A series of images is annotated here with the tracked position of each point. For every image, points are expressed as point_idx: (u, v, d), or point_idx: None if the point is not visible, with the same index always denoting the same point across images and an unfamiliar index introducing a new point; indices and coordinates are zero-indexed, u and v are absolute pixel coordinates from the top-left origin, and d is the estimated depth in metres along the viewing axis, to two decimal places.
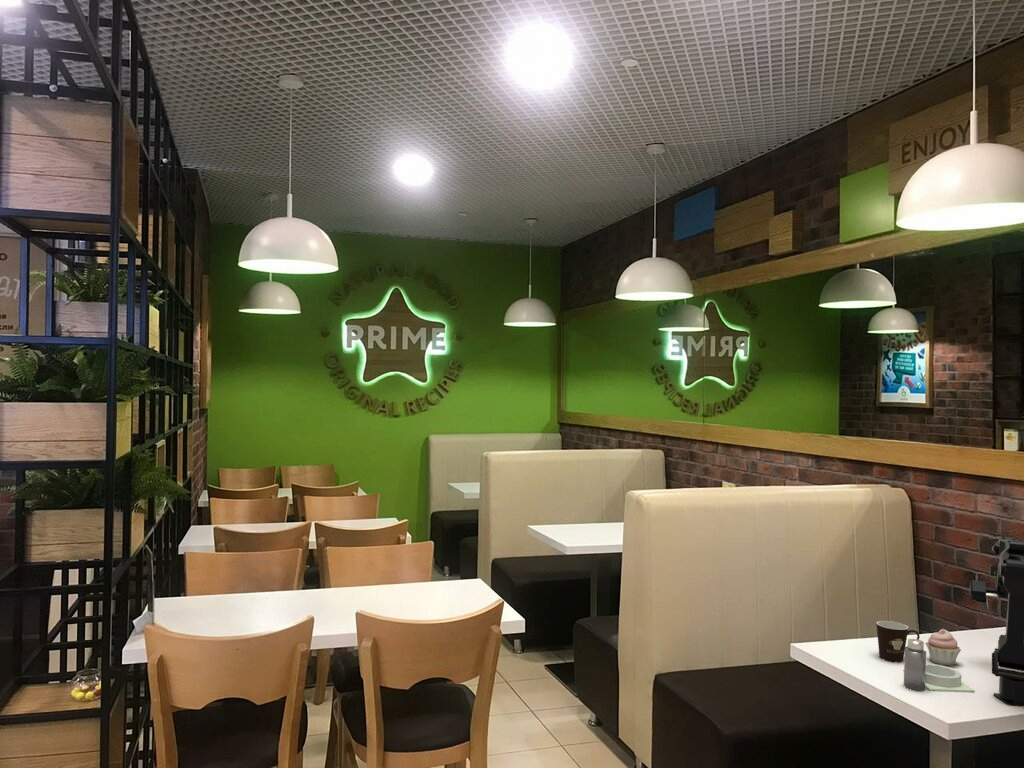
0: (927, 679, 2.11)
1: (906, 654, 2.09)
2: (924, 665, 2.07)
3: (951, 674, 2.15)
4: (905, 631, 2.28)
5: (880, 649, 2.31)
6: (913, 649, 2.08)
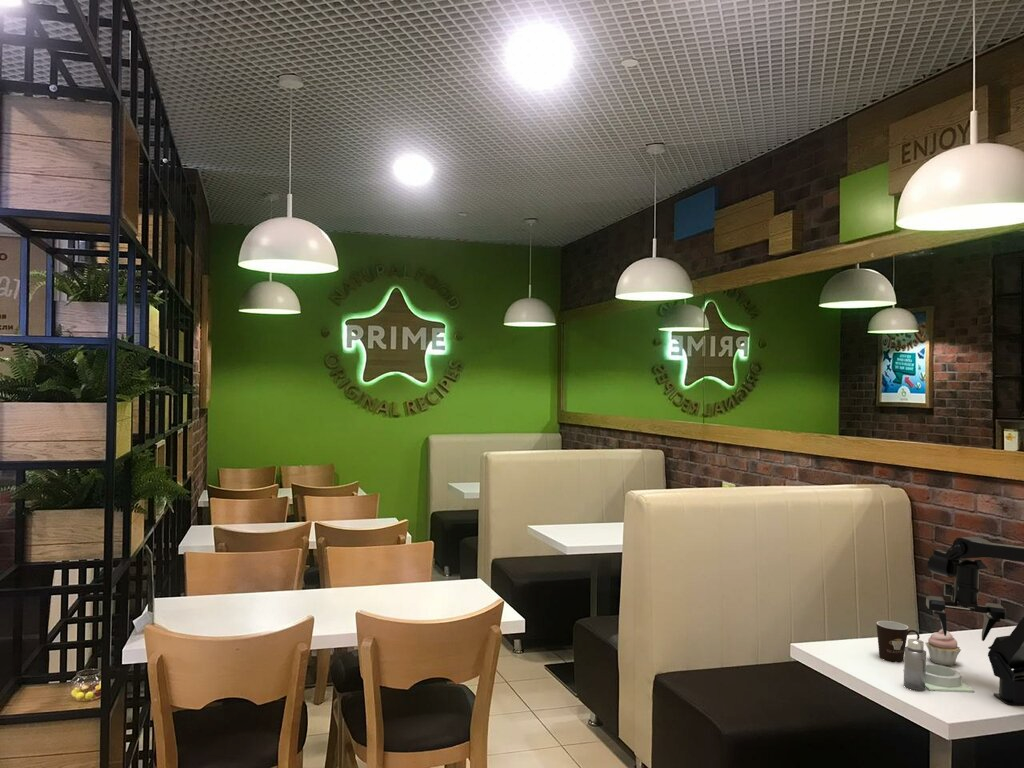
0: (927, 679, 2.11)
1: (906, 654, 2.09)
2: (924, 665, 2.07)
3: (951, 674, 2.15)
4: (905, 631, 2.28)
5: (880, 649, 2.31)
6: (913, 649, 2.08)
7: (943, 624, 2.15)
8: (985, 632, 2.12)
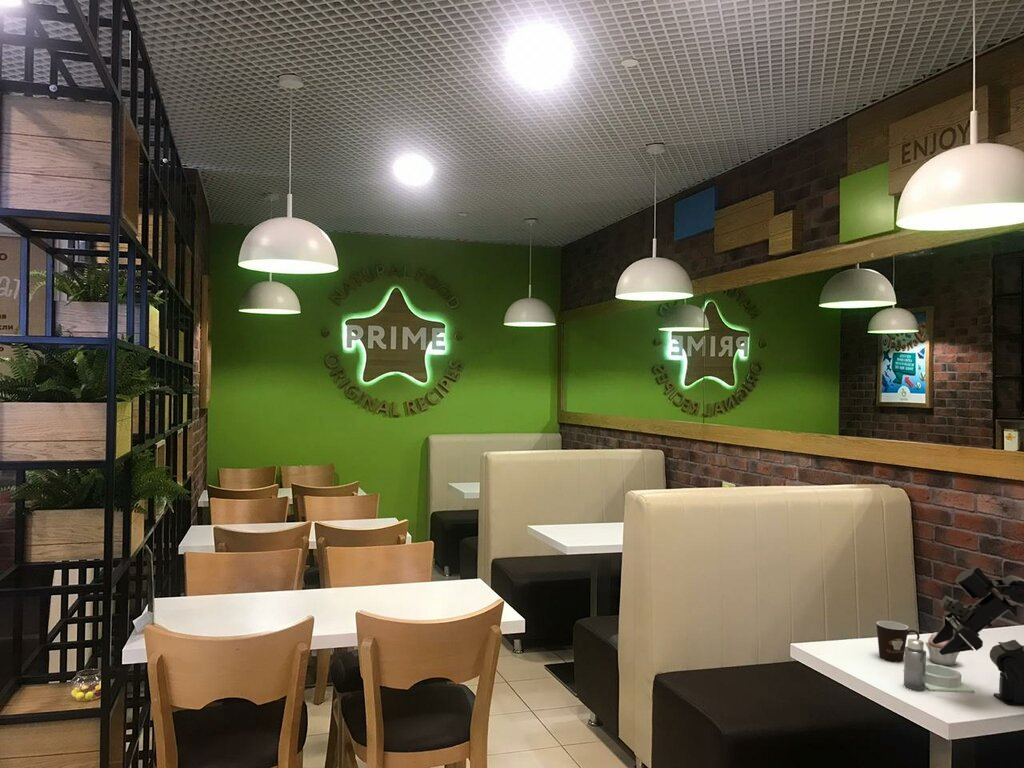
0: (927, 679, 2.11)
1: (906, 654, 2.09)
2: (924, 665, 2.07)
3: (951, 674, 2.15)
4: (905, 631, 2.28)
5: (880, 649, 2.31)
6: (913, 649, 2.08)
7: None
8: (945, 640, 2.11)
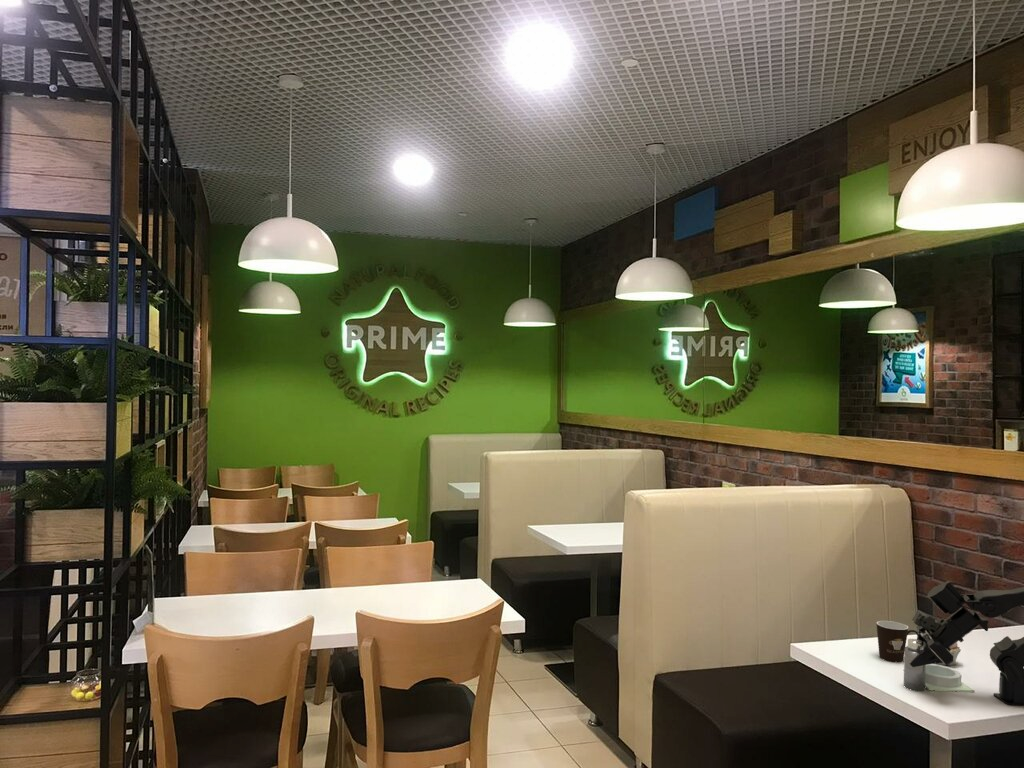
0: (927, 679, 2.11)
1: (906, 654, 2.09)
2: (924, 665, 2.07)
3: (951, 674, 2.15)
4: (905, 631, 2.28)
5: (880, 649, 2.31)
6: (913, 649, 2.08)
7: None
8: None
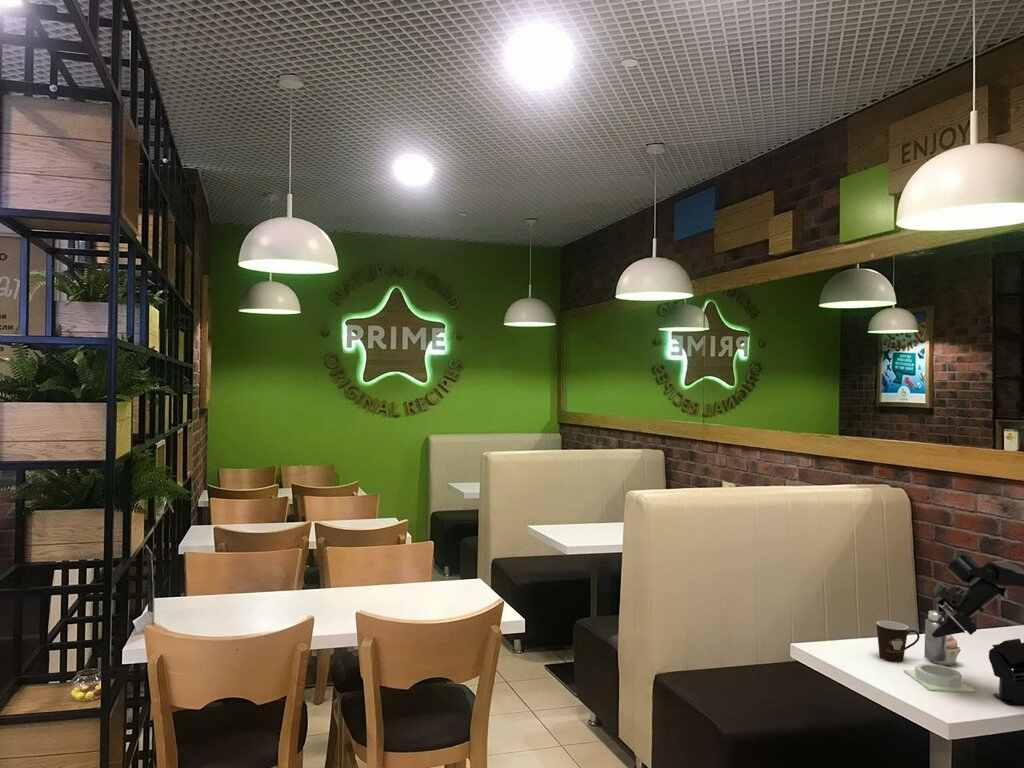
0: (927, 679, 2.11)
1: (927, 625, 2.12)
2: None
3: (951, 674, 2.15)
4: (905, 631, 2.28)
5: (880, 649, 2.31)
6: (934, 620, 2.11)
7: None
8: None
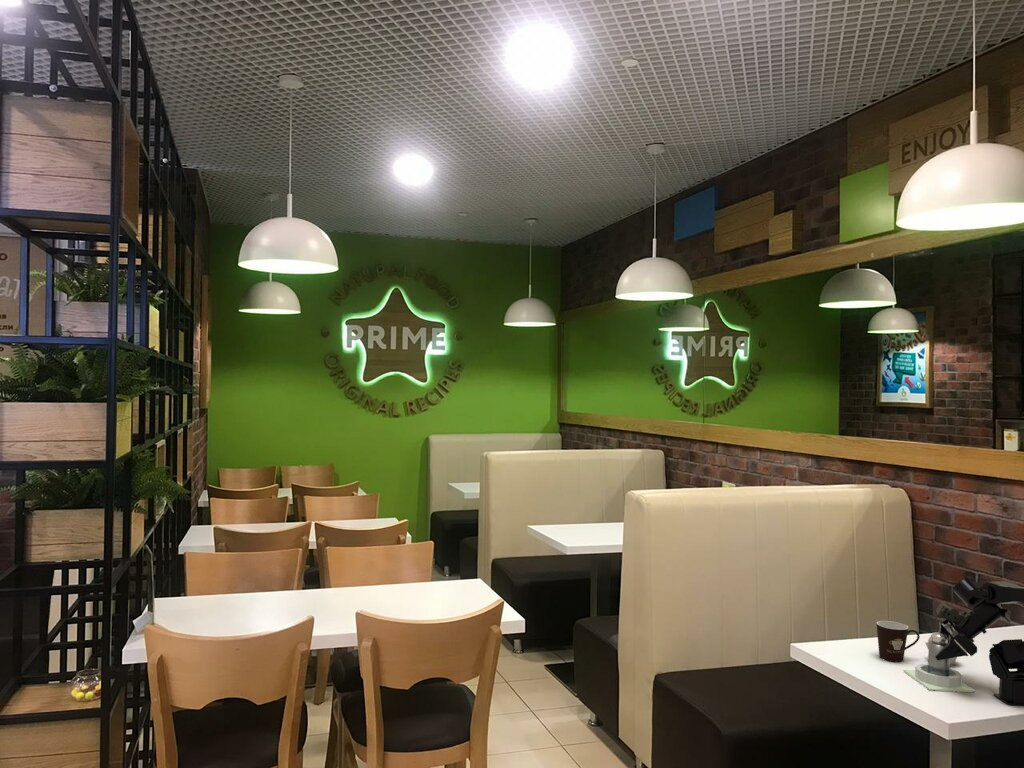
0: (927, 679, 2.11)
1: (930, 647, 2.14)
2: None
3: (951, 674, 2.15)
4: (905, 631, 2.28)
5: (880, 649, 2.31)
6: (937, 642, 2.12)
7: None
8: None
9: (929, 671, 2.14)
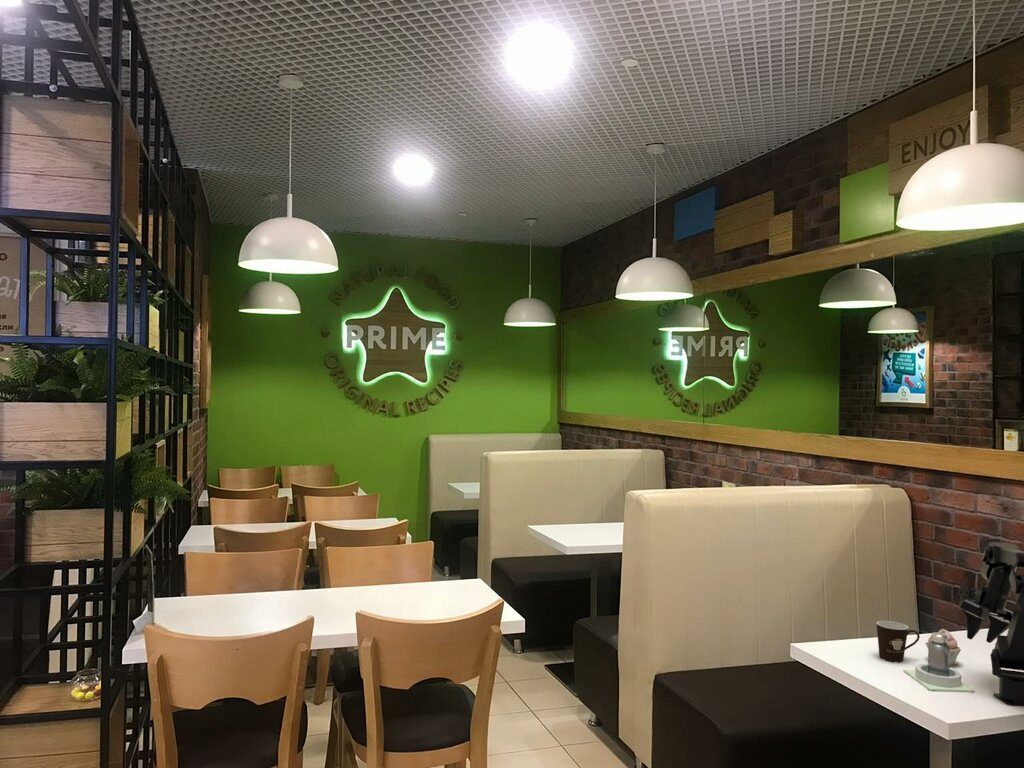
0: (927, 679, 2.11)
1: (930, 647, 2.14)
2: (948, 658, 2.12)
3: (951, 674, 2.15)
4: (905, 631, 2.28)
5: (880, 649, 2.31)
6: (937, 642, 2.12)
7: (978, 629, 2.10)
8: (997, 635, 2.15)
9: (929, 671, 2.14)
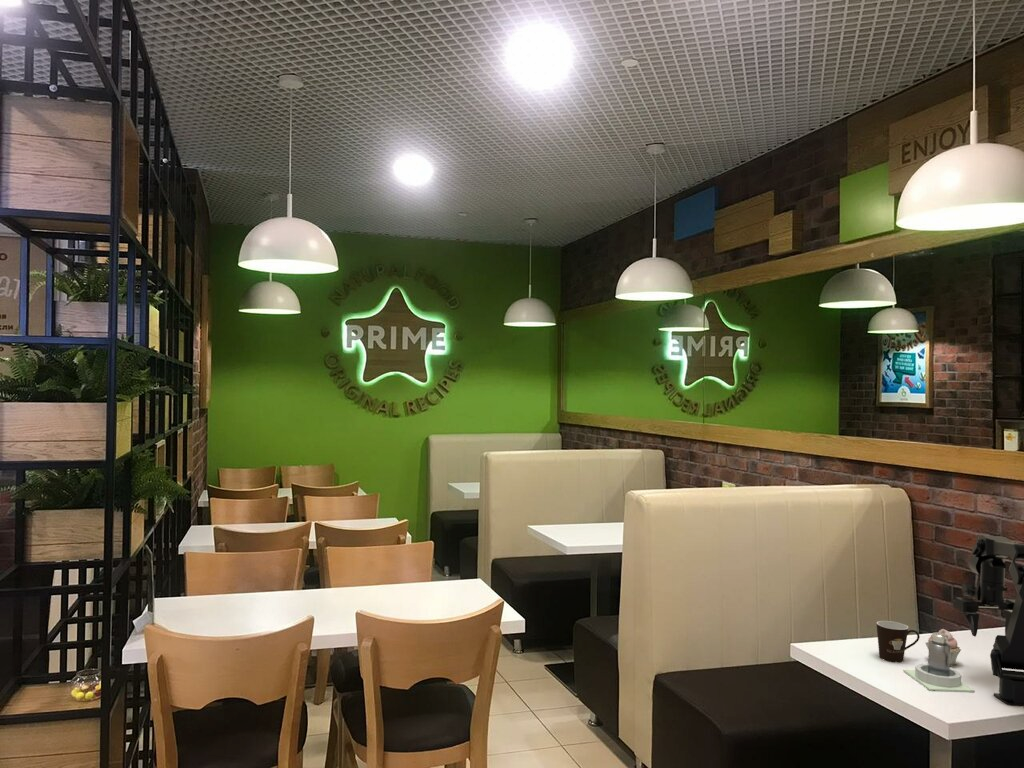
0: (927, 679, 2.11)
1: (930, 647, 2.13)
2: (948, 658, 2.11)
3: (951, 674, 2.15)
4: (905, 631, 2.28)
5: (880, 649, 2.31)
6: (937, 642, 2.12)
7: (975, 625, 2.15)
8: None
9: (929, 671, 2.14)
